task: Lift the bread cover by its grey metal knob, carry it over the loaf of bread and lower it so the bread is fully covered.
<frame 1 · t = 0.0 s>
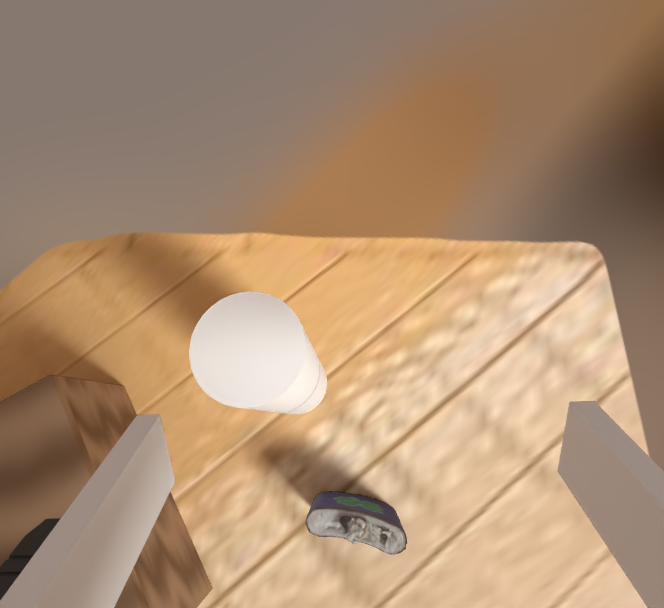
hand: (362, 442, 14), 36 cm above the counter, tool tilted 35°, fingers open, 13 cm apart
bread cover: (65, 540, 47), on the counter
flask: (355, 508, 47), on the counter
cylindrical container: (296, 383, 50), on the counter
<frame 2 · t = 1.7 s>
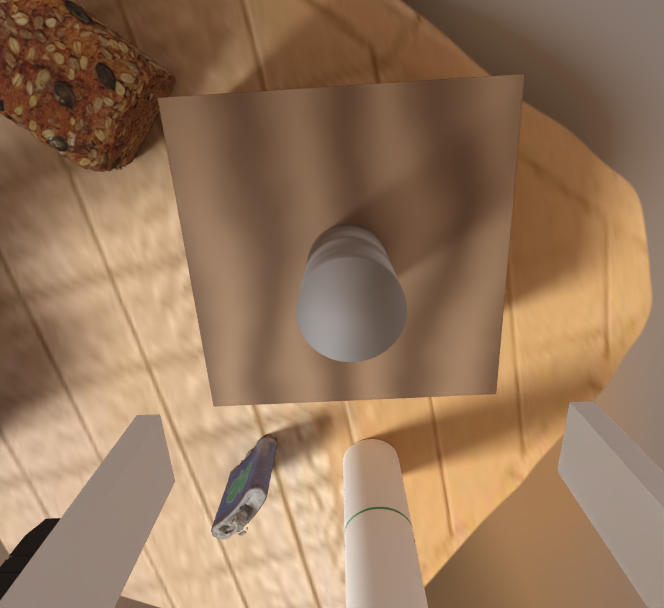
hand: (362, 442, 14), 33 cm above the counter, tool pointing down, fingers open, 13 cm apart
bread cover: (344, 230, 45), on the counter
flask: (254, 458, 56), on the counter
bread: (71, 62, 40), on the counter
cylindrical container: (370, 460, 55), on the counter
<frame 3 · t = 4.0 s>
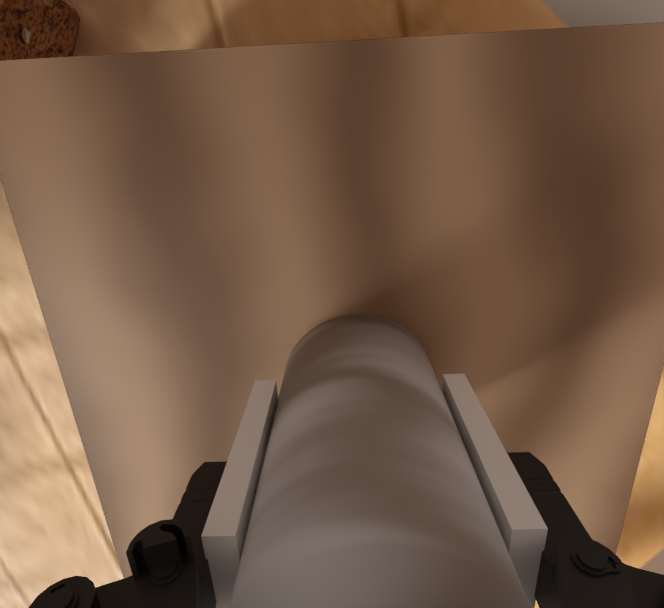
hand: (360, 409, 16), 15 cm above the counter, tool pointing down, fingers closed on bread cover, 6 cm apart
bread cover: (350, 283, 30), on the counter, touching gripper
when the fingers open (16 cm above the counter, at t = 12.0 s): bread cover drops 1 cm, on the counter.
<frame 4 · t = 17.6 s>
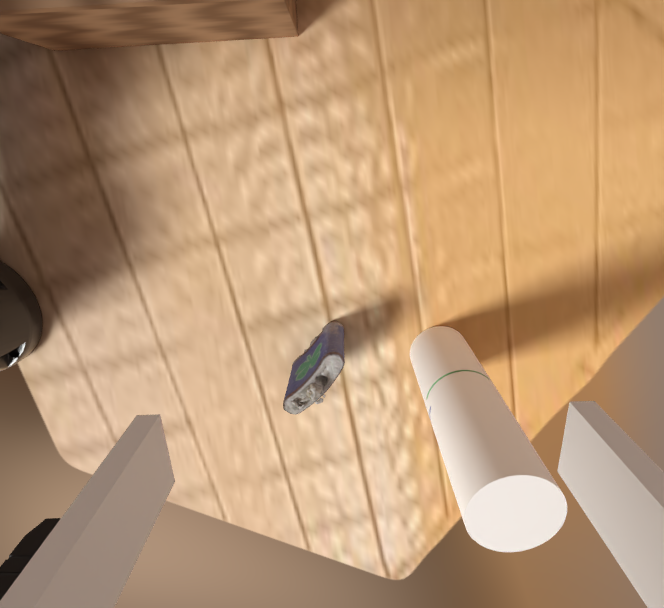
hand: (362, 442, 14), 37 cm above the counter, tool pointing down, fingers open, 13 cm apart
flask: (318, 348, 54), on the counter
cylindrical container: (438, 351, 54), on the counter
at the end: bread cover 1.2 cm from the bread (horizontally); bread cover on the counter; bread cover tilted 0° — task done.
